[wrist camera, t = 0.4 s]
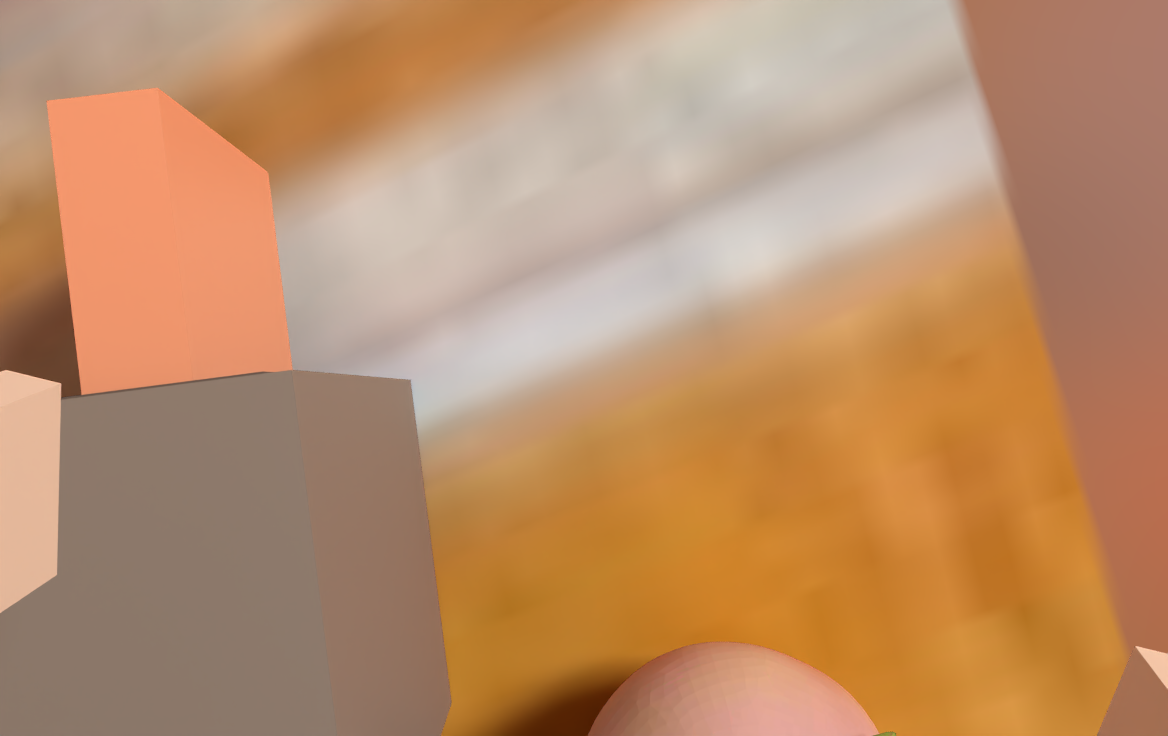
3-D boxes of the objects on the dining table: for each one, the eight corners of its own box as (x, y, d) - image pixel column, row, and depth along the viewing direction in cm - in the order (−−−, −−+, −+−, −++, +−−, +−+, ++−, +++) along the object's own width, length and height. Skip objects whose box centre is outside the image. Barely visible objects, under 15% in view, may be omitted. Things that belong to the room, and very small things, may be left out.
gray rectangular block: (451, 703, 31) (365, 961, 17) (183, 741, 30) (-132, 1037, 16) (409, 374, 31) (290, 359, 17) (142, 408, 31) (-202, 422, 17)
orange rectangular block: (332, 695, 28) (246, 813, 20) (252, 706, 28) (133, 829, 20) (267, 172, 29) (157, 87, 21) (188, 182, 29) (46, 100, 21)
